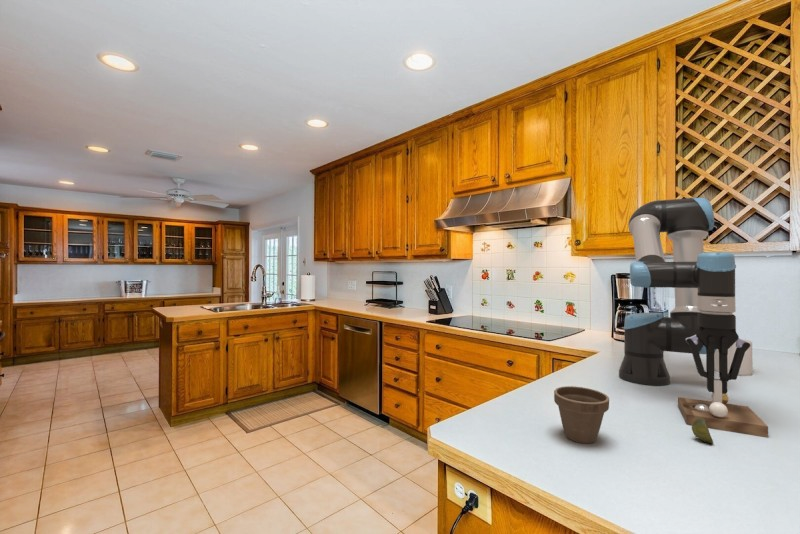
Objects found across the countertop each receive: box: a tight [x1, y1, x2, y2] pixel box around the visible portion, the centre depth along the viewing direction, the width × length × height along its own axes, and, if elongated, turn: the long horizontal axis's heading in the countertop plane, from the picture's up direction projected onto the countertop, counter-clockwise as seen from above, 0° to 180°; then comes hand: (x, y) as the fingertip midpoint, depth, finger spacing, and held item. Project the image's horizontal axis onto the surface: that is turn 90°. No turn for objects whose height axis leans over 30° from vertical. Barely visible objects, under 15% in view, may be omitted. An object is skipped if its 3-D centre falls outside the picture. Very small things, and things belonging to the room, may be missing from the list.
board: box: [677, 396, 769, 438], centre depth 97 cm, size 15×15×2 cm
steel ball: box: [694, 404, 710, 411], centre depth 99 cm, size 4×4×4 cm
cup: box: [714, 338, 754, 377], centre depth 145 cm, size 12×12×12 cm
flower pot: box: [553, 385, 610, 444], centre depth 87 cm, size 12×11×10 cm
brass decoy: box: [722, 393, 730, 404], centre depth 102 cm, size 4×4×4 cm
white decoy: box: [709, 402, 728, 417], centre depth 93 cm, size 4×4×4 cm
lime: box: [691, 418, 714, 444], centre depth 85 cm, size 4×5×5 cm
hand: (717, 405), depth 97 cm, fingers closed
